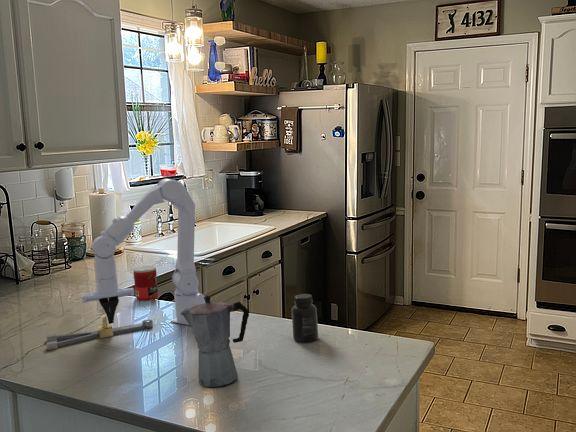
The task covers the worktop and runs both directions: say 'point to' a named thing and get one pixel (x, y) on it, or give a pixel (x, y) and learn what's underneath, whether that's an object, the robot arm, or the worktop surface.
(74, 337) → the grey long bar part
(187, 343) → the worktop surface
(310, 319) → the supplement bottle
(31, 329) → the worktop surface
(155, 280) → the canned food
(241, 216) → the worktop surface
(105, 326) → the collar
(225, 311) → the moka pot
